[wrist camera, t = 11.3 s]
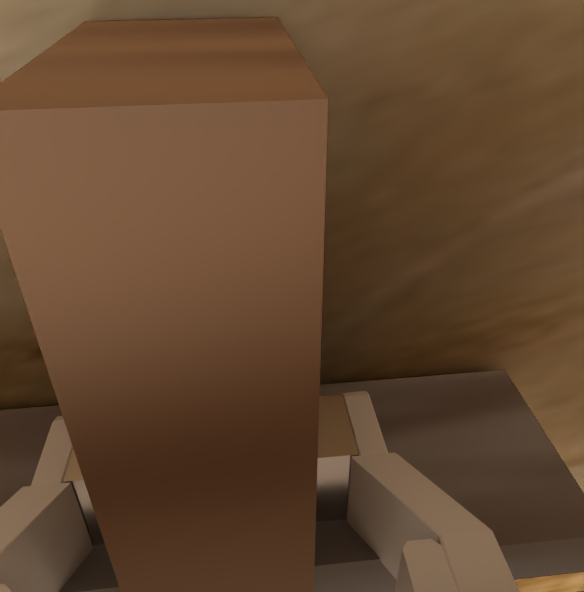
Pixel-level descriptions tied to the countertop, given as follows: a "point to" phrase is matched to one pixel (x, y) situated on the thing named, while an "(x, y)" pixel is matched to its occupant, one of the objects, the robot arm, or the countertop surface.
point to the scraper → (220, 323)
